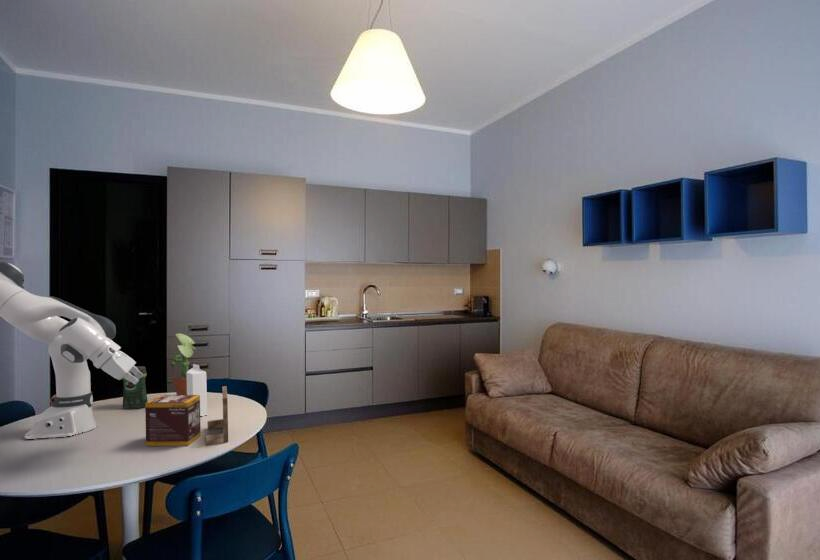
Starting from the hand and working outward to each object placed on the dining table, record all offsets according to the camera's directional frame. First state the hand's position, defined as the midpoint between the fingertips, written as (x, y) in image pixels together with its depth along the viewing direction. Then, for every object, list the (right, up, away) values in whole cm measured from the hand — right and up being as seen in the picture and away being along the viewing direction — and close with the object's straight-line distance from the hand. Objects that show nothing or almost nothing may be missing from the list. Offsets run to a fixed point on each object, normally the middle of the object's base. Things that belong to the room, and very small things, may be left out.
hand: (139, 379), depth 170 cm
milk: (+6, -23, +34) cm, 41 cm away
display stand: (+24, -23, +10) cm, 35 cm away
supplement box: (+10, -24, +5) cm, 26 cm away
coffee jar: (-29, -23, +48) cm, 61 cm away
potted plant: (-6, -22, +51) cm, 56 cm away
